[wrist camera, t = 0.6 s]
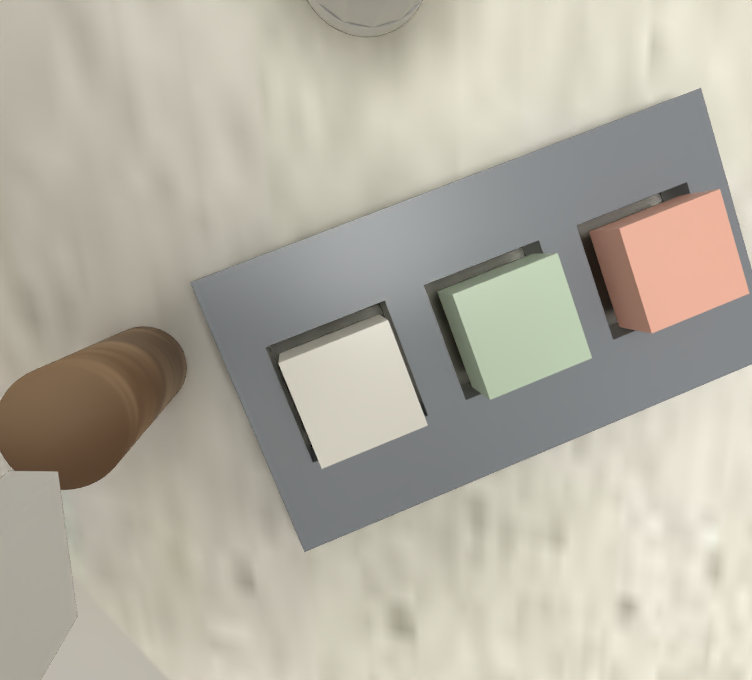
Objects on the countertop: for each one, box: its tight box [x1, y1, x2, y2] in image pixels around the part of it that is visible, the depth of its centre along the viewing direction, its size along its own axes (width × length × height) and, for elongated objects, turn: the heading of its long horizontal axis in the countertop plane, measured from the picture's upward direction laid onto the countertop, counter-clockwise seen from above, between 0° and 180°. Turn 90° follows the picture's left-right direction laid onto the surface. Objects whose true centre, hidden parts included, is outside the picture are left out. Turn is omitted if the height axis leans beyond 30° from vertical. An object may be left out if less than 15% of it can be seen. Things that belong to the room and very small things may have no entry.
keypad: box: [190, 88, 752, 552], centre depth 33 cm, size 14×26×2 cm, turn 111°
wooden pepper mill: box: [0, 327, 187, 490], centre depth 27 cm, size 4×4×12 cm
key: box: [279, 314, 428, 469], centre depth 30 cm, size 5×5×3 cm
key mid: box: [437, 253, 592, 400], centre depth 31 cm, size 5×5×3 cm
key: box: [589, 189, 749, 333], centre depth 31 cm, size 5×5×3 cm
